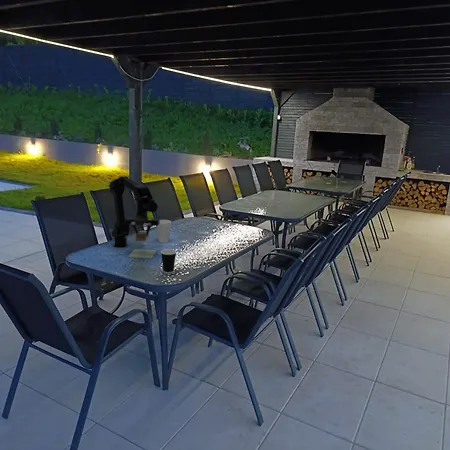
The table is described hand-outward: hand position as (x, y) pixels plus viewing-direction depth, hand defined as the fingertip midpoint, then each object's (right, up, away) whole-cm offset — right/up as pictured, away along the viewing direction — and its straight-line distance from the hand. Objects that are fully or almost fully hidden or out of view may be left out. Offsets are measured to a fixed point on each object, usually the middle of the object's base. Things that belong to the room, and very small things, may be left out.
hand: (142, 236), depth 225 cm
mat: (0, -11, +3) cm, 11 cm away
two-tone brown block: (0, -1, 0) cm, 1 cm away
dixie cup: (+18, -18, -23) cm, 34 cm away
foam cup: (+7, -4, +31) cm, 32 cm away
